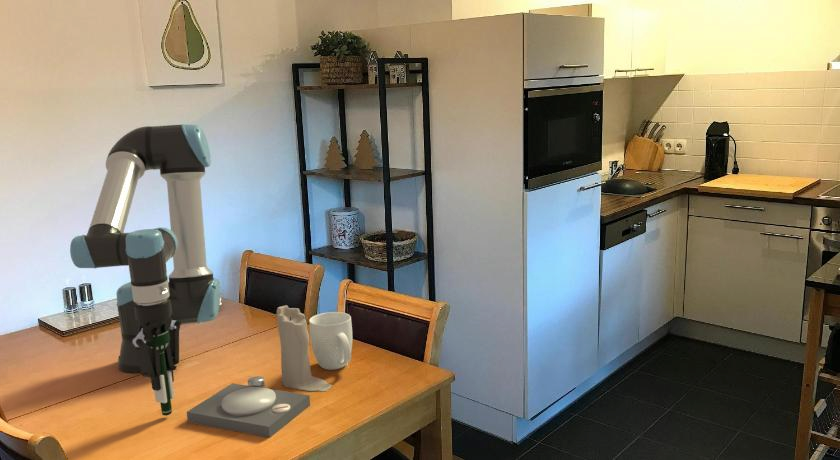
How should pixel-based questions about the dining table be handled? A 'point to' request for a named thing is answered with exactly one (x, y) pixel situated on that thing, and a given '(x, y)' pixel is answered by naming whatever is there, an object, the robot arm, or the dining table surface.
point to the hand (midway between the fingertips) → (165, 399)
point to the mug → (331, 339)
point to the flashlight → (163, 366)
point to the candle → (296, 351)
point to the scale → (249, 409)
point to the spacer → (256, 381)
